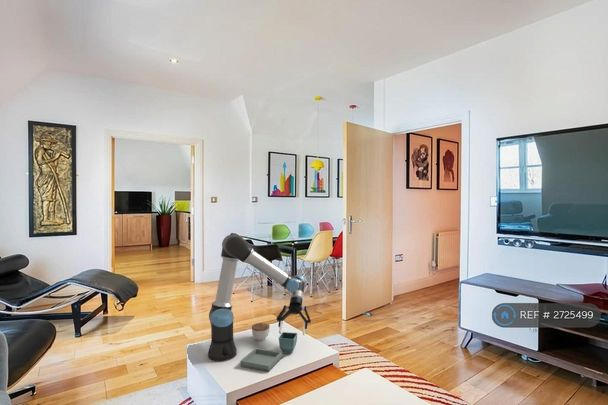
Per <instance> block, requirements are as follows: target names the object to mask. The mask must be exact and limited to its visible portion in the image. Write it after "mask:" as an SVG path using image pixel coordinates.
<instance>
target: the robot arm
mask: <svg viewBox="0 0 608 405" xmlns="http://www.w3.org/2000/svg"><path fill="white" fill-rule="evenodd" d="M220 257H221V258H222V262H221V269H220V275H219V280H218V283H217V290H216V295H215V299H214V300H213V301H212V303H211V307H210V310H209V312H208V320H209V322H210V327H211V328H210V330H211V331H210V332H211V333H210V337H211V340H210V341H211V342H210V345H209V349H208V351H207V352H208V353H207V357H208V359H209V360H210V361H212V362H226V361H229V360H232V359H234V358H235V357H236V356H237V350H238V349H237V347H236V343H235V340H234V313H233V311H232V308H233V303H232V302H231V300H232V294H233V290H234V289H233V288H234V283H235V277H236V272H237V267H238V262H239V261H240V262H242V263H247V264H248V265H250V266H251V267H253V268H254V269H256V270H257V271H259V272H260V273H262V274H263V275H265V276H266V277H268V278H269V279H271V281H274V283H276V284H278V285H280V286H281V287H283V288H284V289H286V290H287V291H288V292H289V293H290V292H291V294H290V299H289V306H287V305H286V304H284V305H283V308H282V309H281V311H280V312H279V314H278V315H277V317H276V321H277V322H278V325H277V326H278V329H279V330H278V333H279V334H280V335H281V334H282V331H283V322H284V321H285V320H286V319H288V318H287V317H289V316H290V315H299V316H300V317H301V318H302V320H303V326H302V335H303V336H305V333H306V330H307V329H308V324H311V323H312V320H311V318H310V315H309V313H308V308H307V306H306V305H305V306H303V299H304V292H305V291H304V290H305V286H306V278H305V277H304V276H303V275H300V274H297V275H294V276H293V275H290V274H289V273H287V272H285V271H284V270H282V269H281V268H280V267H278V266H277V265H276V264H274V263H272V262H271V261H270V260H268V259H267V258H265V257H264V256H262V255H261V254H259V253H258V252H257V251H255V250H254V247H253V246H251V245H250V244H249V243H247V241H245V240H244V238H242V237H241V236H239V235H238V234H236V233H235V234H229V235H226V236H225V237H224V239H223V240H222V242H221V254H220ZM302 310H303V311H304V313H305V315H304V314H303V313H302ZM305 316H306V317H305Z"/></svg>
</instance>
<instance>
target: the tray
mask: <svg viewBox="0 0 608 405" xmlns="http://www.w3.org/2000/svg"><path fill="white" fill-rule="evenodd" d="M282 359H283V352H282V351H278V350H277V351H276V350H271V349H265V348H259V347H258V348H257V347H255V348H254V349H253V350H252V351H250V352H249V353H248V354H247V355H245V356H244V357H243V358H241V360H240V361H239V363H240V364H239V367H240V368H244V369H250V370H256V371H261V372H266V373H269V372H271V370H272V369H273V368H275V366H276V365H277V364H278V363H279V362H280V361H281V360H282Z"/></svg>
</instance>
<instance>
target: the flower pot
mask: <svg viewBox="0 0 608 405" xmlns="http://www.w3.org/2000/svg"><path fill="white" fill-rule="evenodd" d="M297 340H298V332H288V331H283V332H282V331H281V334H280V335H279V337H278V344H279V348H280V352H282V354H289V355H291V354H293V351H294V350H295V348H296V346H297V343H298V342H297Z"/></svg>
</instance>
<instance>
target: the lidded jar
mask: <svg viewBox="0 0 608 405" xmlns="http://www.w3.org/2000/svg"><path fill="white" fill-rule="evenodd" d="M251 332H252V335H253V338H254V339H255V340H256V341H265V340H266V339H267V338H268V336H269V334H270V324H269V323H266V322H257V323H254V324H252V326H251Z"/></svg>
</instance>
